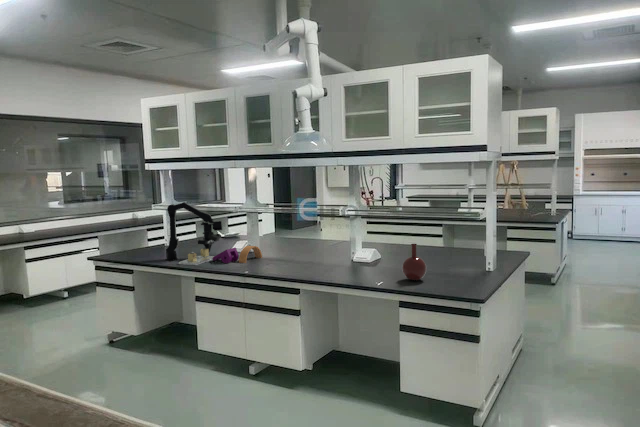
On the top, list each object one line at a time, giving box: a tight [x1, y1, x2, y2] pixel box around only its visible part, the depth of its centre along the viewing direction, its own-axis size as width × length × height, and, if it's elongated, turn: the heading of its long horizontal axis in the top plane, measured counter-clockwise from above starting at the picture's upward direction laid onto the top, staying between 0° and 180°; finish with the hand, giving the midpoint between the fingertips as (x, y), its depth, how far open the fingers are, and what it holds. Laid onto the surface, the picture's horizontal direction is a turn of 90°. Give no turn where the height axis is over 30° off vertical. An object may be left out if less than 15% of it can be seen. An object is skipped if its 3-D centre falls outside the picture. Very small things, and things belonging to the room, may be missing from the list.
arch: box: [238, 245, 263, 264], centre depth 330 cm, size 6×20×10 cm, turn 152°
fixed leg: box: [187, 251, 197, 262], centre depth 325 cm, size 4×4×6 cm
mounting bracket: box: [212, 247, 240, 264], centre depth 328 cm, size 10×8×18 cm
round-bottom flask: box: [401, 243, 427, 281], centre depth 258 cm, size 13×13×20 cm
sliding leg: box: [200, 246, 210, 257], centre depth 339 cm, size 4×4×6 cm
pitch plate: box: [178, 255, 214, 266], centre depth 331 cm, size 14×24×2 cm, turn 160°
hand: (208, 252), depth 344 cm, fingers closed
